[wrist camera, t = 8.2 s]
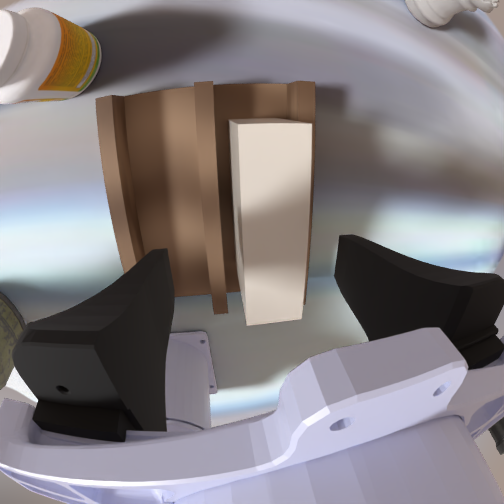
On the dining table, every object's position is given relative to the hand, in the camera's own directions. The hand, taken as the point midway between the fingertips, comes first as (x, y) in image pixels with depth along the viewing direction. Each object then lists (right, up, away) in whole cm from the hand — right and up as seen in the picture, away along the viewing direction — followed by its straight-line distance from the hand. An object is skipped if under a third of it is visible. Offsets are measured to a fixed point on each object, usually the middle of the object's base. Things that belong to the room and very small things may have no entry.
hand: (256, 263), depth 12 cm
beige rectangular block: (0, +4, +7) cm, 8 cm away
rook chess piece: (+14, +21, +2) cm, 25 cm away
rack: (-3, +4, +8) cm, 10 cm away
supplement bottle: (-13, +13, +2) cm, 19 cm away
